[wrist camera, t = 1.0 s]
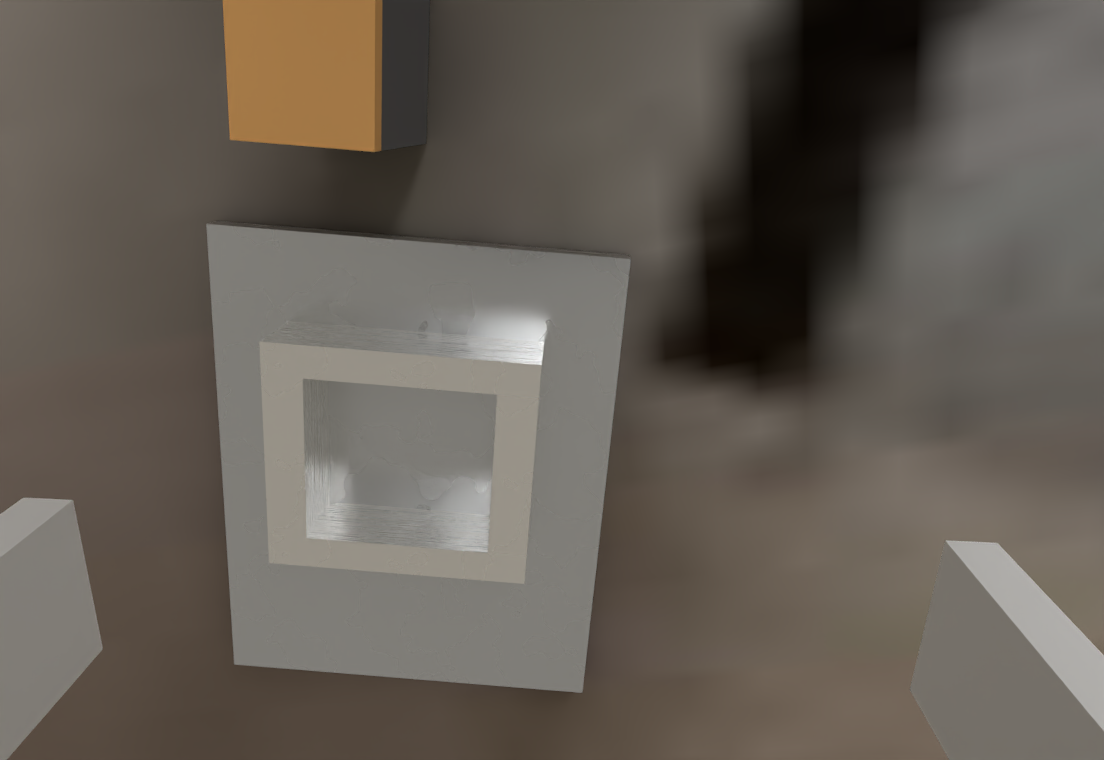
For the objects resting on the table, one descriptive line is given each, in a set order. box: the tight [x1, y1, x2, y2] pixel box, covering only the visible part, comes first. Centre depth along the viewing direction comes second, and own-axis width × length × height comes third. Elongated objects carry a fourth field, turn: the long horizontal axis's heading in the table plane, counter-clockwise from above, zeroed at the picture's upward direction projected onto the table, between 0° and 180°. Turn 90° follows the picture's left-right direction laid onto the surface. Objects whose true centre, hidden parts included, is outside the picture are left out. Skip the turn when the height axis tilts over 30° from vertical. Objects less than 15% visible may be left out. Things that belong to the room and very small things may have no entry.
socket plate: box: [206, 221, 631, 693], centre depth 31 cm, size 20×16×4 cm
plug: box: [223, 0, 430, 152], centre depth 24 cm, size 5×4×8 cm
